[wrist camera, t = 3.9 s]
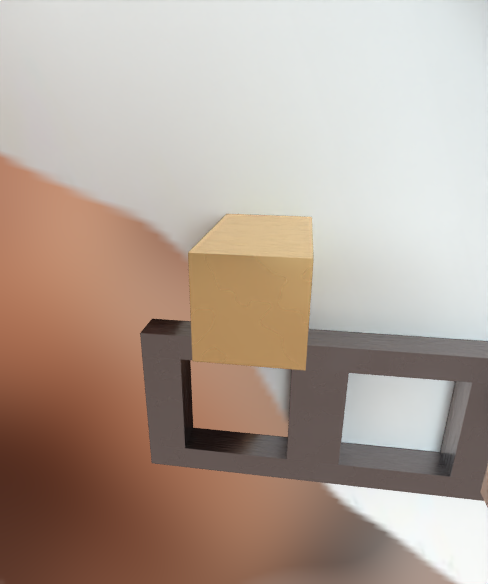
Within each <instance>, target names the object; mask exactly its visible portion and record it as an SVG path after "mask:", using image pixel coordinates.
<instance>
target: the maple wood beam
mask: <svg viewBox="0 0 488 584" xmlns="http://www.w3.org/2000/svg"><path fill="white" fill-rule="evenodd" d="M188 262H189V284H190V285H189V287H190V312H191V338H192V361H197V362H209V363H221V364H235V365H246V366H258V367H270V368H282V369H294V370H306V357H307V343H308V328H309V314H310V300H311V286H312V271H313V235H312V217H301V216H273V215H244V214H226V215H225V216H224V217H223V218H222V219H221V220H220V221H219V222H218V223H217V224H216V225H215V226H214V227H213V228H212V229H211V230H210V231H209V232H208V233H207V234H206V235H205V236H204V237H203V238H202V239H201V240H200V241H199V242H198V243H197V244H196V245H195V246H194V247H193V248H192V249H191V250H190V251H189V252H188Z"/></svg>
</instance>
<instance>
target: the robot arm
mask: <svg viewBox="0 0 488 584" xmlns="http://www.w3.org/2000/svg"><path fill="white" fill-rule="evenodd" d="M480 493H481V495H482V497H483V499H484V501H485V503H486V505H487V507H488V465H487V469H486V472H485V476H484V480H483V484H482V488H481V492H480Z"/></svg>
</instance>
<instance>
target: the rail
mask: <svg viewBox="0 0 488 584" xmlns="http://www.w3.org/2000/svg"><path fill="white" fill-rule="evenodd" d="M140 335H141V347H142V358H143V370H144V380H145V393H146V403H147V415H148V426H149V438H150V449H151V460H152V463H155V464H164V465H173V466H182V467H190V468H199V469H209V470H217V471H226V472H235V473H244V474H252V475H261V476H271V477H279V478H288V479H297V480H306V481H314V482H323V483H332V484H341V485H349V486H358V487H367V488H376V489H385V490H393V491H402V492H411V493H420V494H429V495H438V496H446V497H455V498H464V499H473V500H482V501H484V499H483V497H482V495H481V493H480V492H481V488H482V484H483V480H484V476H485V472H486V469H487V465H488V341H473V340H458V339H444V338H429V337H414V336H399V335H384V334H370V333H355V332H340V331H325V330H310V329H308V343H307V357H306V370H294V369H292V374H291V392H290V410H289V428H288V437H280V436H270V435H260V434H250V433H240V432H230V431H220V430H210V429H200V428H193V415H192V390H191V369H190V368H191V367H190V360H192V338H191V321H177V320H162V319H152V320H151V321H150V322H149V323H148V324H147V326H146V327H145V328H144V329H143V331H142V332H141V333H140ZM349 373H359V374H372V375H384V376H397V377H409V378H422V379H434V380H447V381H456V382H455V387H454V392H453V396H452V401H451V405H450V410H449V415H448V419H447V424H446V429H445V433H444V438H443V442H442V447H441V452H440V453H439V452H429V451H419V450H409V449H399V448H389V447H379V446H369V445H359V444H349V443H341V437H342V428H343V419H344V410H345V401H346V392H347V383H348V374H349Z"/></svg>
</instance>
